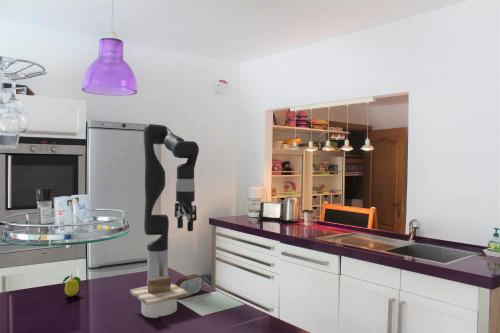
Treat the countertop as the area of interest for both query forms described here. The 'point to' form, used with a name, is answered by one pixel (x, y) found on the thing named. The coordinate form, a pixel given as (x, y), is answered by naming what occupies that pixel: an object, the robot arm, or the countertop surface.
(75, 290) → the lemon
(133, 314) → the countertop surface
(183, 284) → the tin
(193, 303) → the mat
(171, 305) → the bowl
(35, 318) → the countertop surface
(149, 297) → the cover board
